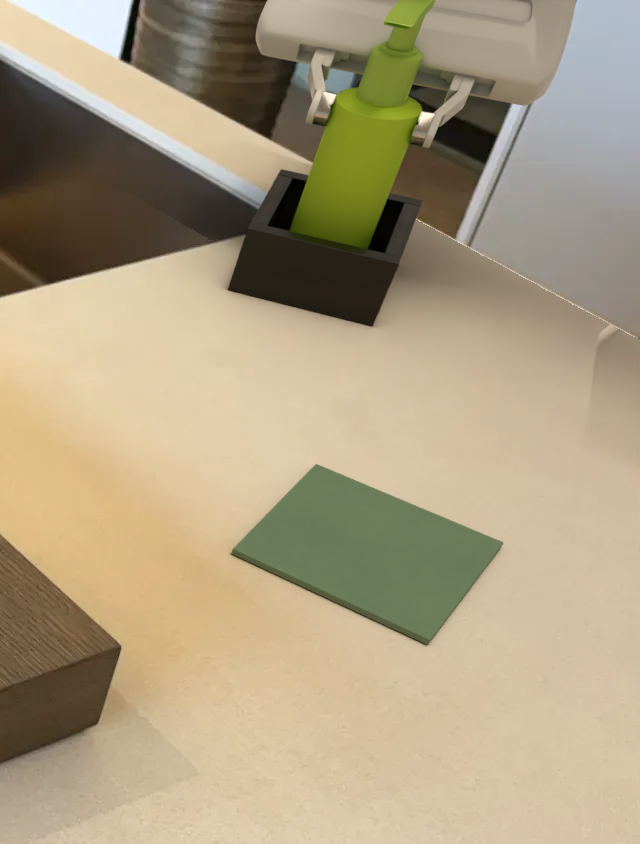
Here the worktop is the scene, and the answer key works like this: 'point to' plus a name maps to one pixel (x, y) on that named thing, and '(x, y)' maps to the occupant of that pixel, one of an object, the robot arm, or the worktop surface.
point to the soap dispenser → (365, 138)
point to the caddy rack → (320, 257)
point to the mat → (369, 552)
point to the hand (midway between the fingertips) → (368, 132)
